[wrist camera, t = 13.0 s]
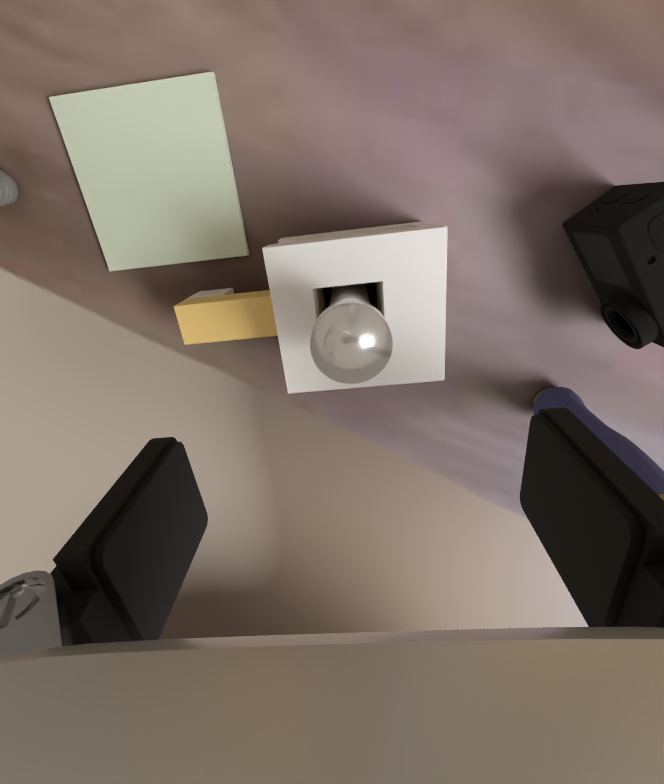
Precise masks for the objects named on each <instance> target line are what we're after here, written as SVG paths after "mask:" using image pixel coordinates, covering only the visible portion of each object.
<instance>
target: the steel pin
mask: <svg viewBox="0 0 664 784" xmlns="http://www.w3.org/2000/svg"><path fill="white" fill-rule="evenodd" d="M392 348H393V340H392V335H391V331H390V328H389V326H388V323H387V321H386V319H385V317H384V316H383V315H382V313H381V312H380V311H379V310H378V309H376V308H375V307H374V306H372V305H370V301H369V297H368V293H367V289H366V286H365V284H364V283H362V284H352V285H343V286H334V287H333V288H332V293H331V299H330V305H329V307H328V308H326V309H325V310H324V311H323V312H322V313H321V314H320V315H319V317H318V318H317V320H316V322H315V324H314V327H313V330H312V334H311V338H310V351H311V356H312V359H313V361H314V363H315V365H316V366H317V368H318V369H319V370H320V371H321V372H322V373H323V374H324V375H325V376H327V377H328V378H330V379H332V380H334V381H337V382H340V383H345V384H357V383H362V382H365V381H368V380H370V379H372V378H374V377H375V376H376V375H378V374H379V373H380V372H381V371H382V370H383V369H384V368H385V366H386V365H387V363H388V361H389V359H390V357H391V354H392Z"/></svg>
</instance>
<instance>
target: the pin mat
mask: <svg viewBox="0 0 664 784" xmlns="http://www.w3.org/2000/svg"><path fill="white" fill-rule="evenodd" d="M49 99H50V102H51V105H52V108H53V111H54V114H55V117H56V119H57V122H58V125H59V128H60V131H61V134H62V137H63V139H64V142H65V145H66V148H67V151H68V154H69V157H70V159H71V162H72V165H73V168H74V171H75V174H76V177H77V179H78V182H79V185H80V188H81V191H82V194H83V197H84V199H85V202H86V205H87V208H88V211H89V214H90V217H91V219H92V222H93V225H94V228H95V231H96V234H97V236H98V239H99V242H100V245H101V248H102V251H103V254H104V256H105V259H106V262H107V265H108V268H109V271H117V270H125V269H134V268H143V267H152V266H160V265H169V264H178V263H186V262H195V261H204V260H212V259H221V258H230V257H239V256H247V255H250V254H249V249H248V244H247V239H246V234H245V229H244V223H243V218H242V213H241V208H240V203H239V198H238V192H237V187H236V182H235V177H234V172H233V167H232V161H231V156H230V151H229V146H228V141H227V136H226V130H225V125H224V120H223V115H222V110H221V105H220V99H219V94H218V89H217V84H216V79H215V74H214V73H213V72H206V73H200V74H194V75H187V76H181V77H174V78H168V79H162V80H155V81H149V82H142V83H136V84H129V85H123V86H117V87H110V88H104V89H97V90H91V91H84V92H78V93H72V94H65V95H59V96H52V97H49Z"/></svg>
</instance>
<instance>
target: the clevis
mask: <svg viewBox="0 0 664 784" xmlns="http://www.w3.org/2000/svg"><path fill="white" fill-rule="evenodd" d="M262 250H263V256H264V261H265V267H266V272H267V278H268V284H269V289H270V290H265V291H255V292H246V293H236V294H234V291H233V288H225V289H216V290H207V291H199V292H197V293H196V294H194V295H192V296H190V297H189V298H187V299H185V300H184V301H182V302H180V303H178V304H177V305H175V306H174V309H175V313H176V316H177V320H178V323H179V326H180V330H181V333H182V337H183V340H184V344H185V345H186V344H196V343H207V342H217V341H227V340H238V339H248V338H258V337H269V336H278V340H279V345H280V351H281V356H282V362H283V368H284V373H285V379H286V384H287V390H288V393H299V392H311V391H323V390H335V389H347V388H359V387H370V386H382V385H394V384H406V383H418V382H430V381H442V380H445V329H446V275H447V227H446V226H442V225H437V224H432V223H428V222H423V221H420V222H412V223H403V224H395V225H386V226H378V227H369V228H361V229H352V230H344V231H335V232H327V233H318V234H310V235H301V236H293V237H284V238H281V239H279V240H278V244H270V245H268V246H266V247H264V248H262ZM371 282H375V283H376V299H377V309H378V310H379V311H380V312H381V313H382V315H383V316H384V317H385V319H386V321H387V323H388V326H389V328H390V331H391V335H392V340H393V348H392V354H391V357H390V359H389V361H388V363H387V365H386V366H385V368H384V369H383V370H382V371H381V372H380V373H379V374H378V375H376V376H375V377H374V378H372V379H370V380H368V381H365V382H362V383H357V384H345V383H340V382H337V381H334V380H332V379H330V378H328V377H327V376H325V375H324V374H323V373H322V372H321V371H320V370H319V369H318V368H317V366H316V365H315V363H314V361H313V359H312V356H311V351H310V338H311V334H312V330H313V327H314V324H315V322H316V320H317V318H318V317H319V315H320V314H321V313H322V312H323V311H324V310H325V302H324V293H323V288H324V287H334V286H343V285H352V284H362V283H371Z"/></svg>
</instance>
